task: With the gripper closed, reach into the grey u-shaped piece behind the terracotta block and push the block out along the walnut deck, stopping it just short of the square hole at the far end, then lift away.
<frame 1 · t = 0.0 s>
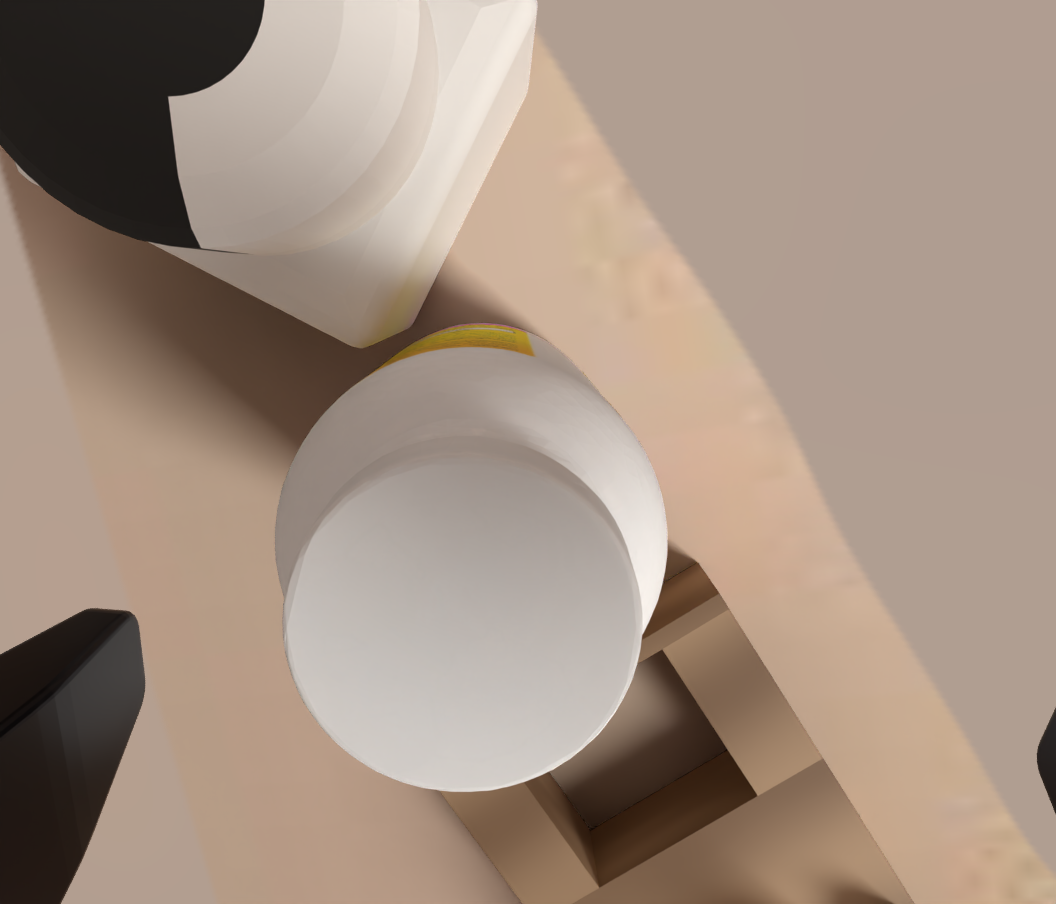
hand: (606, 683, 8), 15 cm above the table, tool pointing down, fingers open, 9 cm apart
supplement bottle: (484, 443, 24), on the table
medicine bottle: (346, 146, 22), on the table
deck: (728, 887, 26), on the table
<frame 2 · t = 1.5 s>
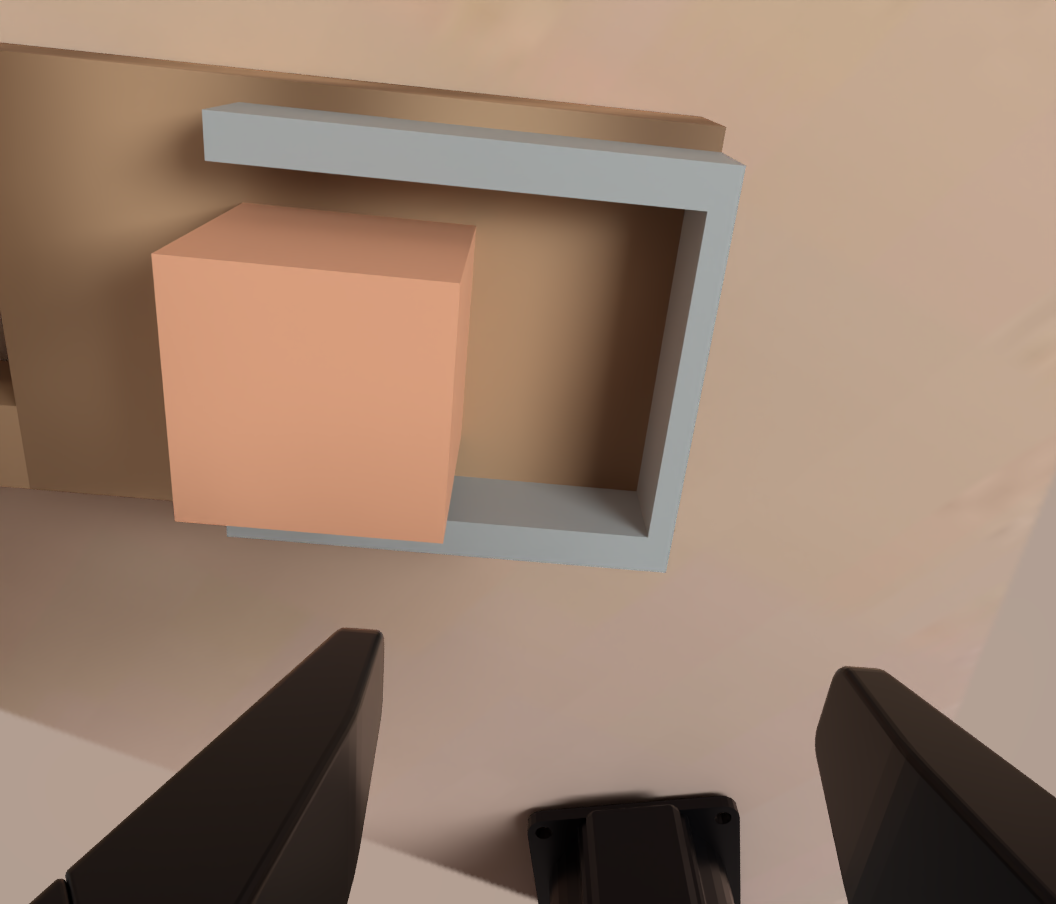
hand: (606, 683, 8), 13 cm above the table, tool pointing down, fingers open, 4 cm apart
block: (358, 325, 18), point 2 cm above the table, touching deck
grey u-shaped piece: (465, 351, 17), on the deck, point 4 cm above the table
deck: (235, 280, 20), on the table
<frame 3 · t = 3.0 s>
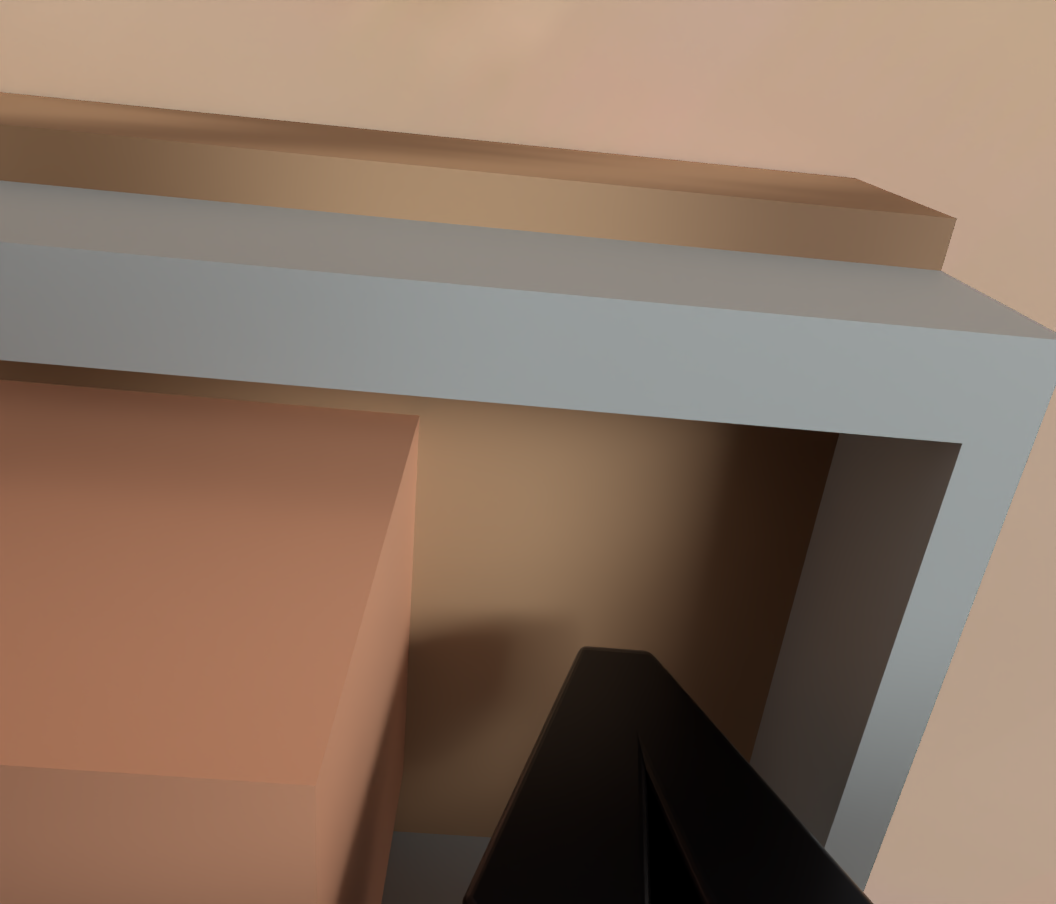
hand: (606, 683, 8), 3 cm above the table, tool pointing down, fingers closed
block: (194, 595, 9), point 2 cm above the table, touching deck, gripper
grey u-shaped piece: (397, 673, 8), on the deck, point 4 cm above the table
deck: (5, 463, 11), on the table
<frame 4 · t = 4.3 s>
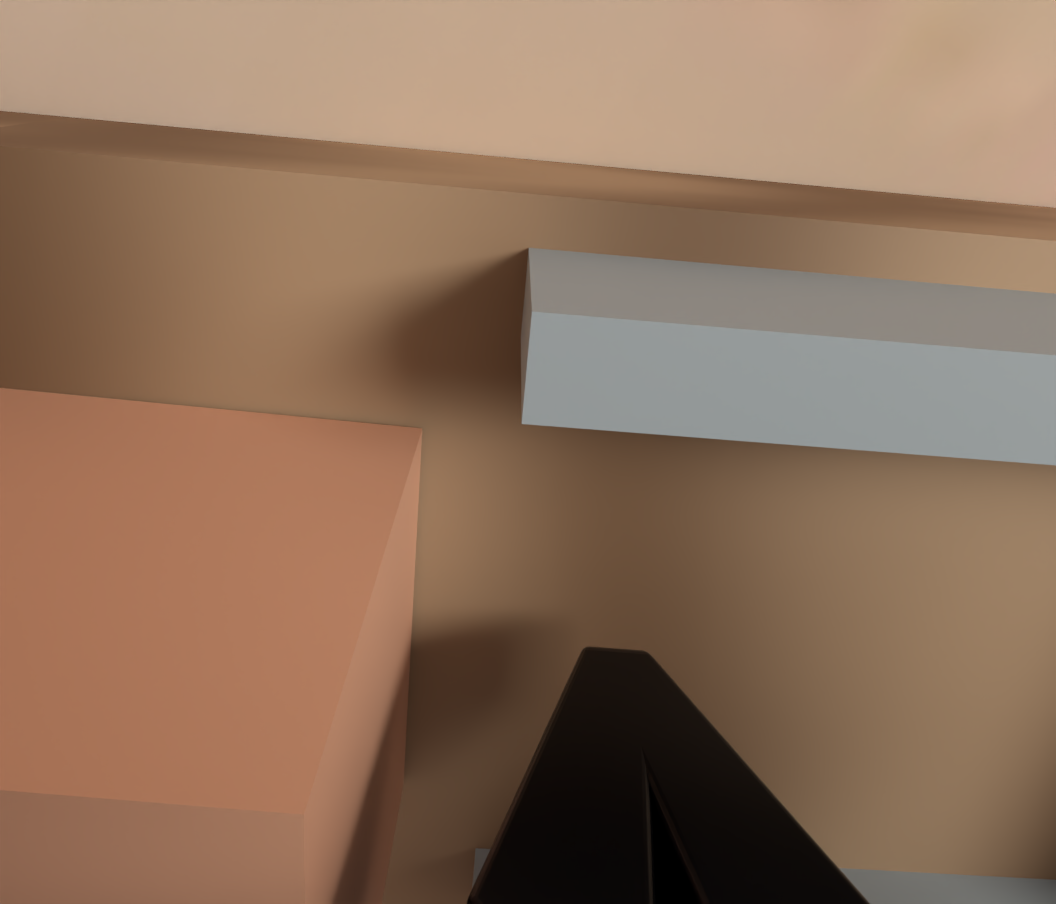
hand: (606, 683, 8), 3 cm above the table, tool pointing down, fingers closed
block: (194, 606, 9), point 3 cm above the table, touching deck, gripper
grey u-shaped piece: (950, 723, 8), on the deck, point 4 cm above the table
deck: (423, 509, 11), on the table
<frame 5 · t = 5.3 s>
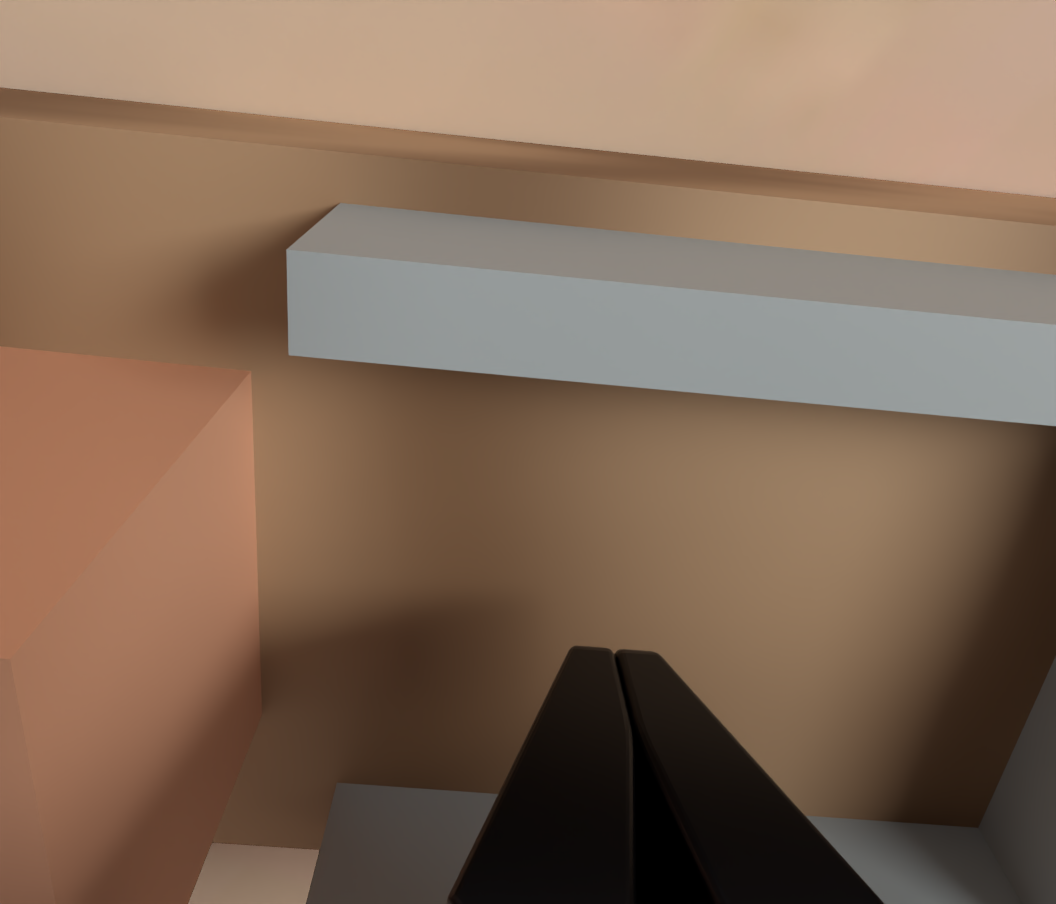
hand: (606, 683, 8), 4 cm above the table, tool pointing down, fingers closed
block: (51, 541, 10), point 2 cm above the table, touching deck
grey u-shaped piece: (752, 658, 9), on the deck, point 3 cm above the table
deck: (300, 464, 12), on the table
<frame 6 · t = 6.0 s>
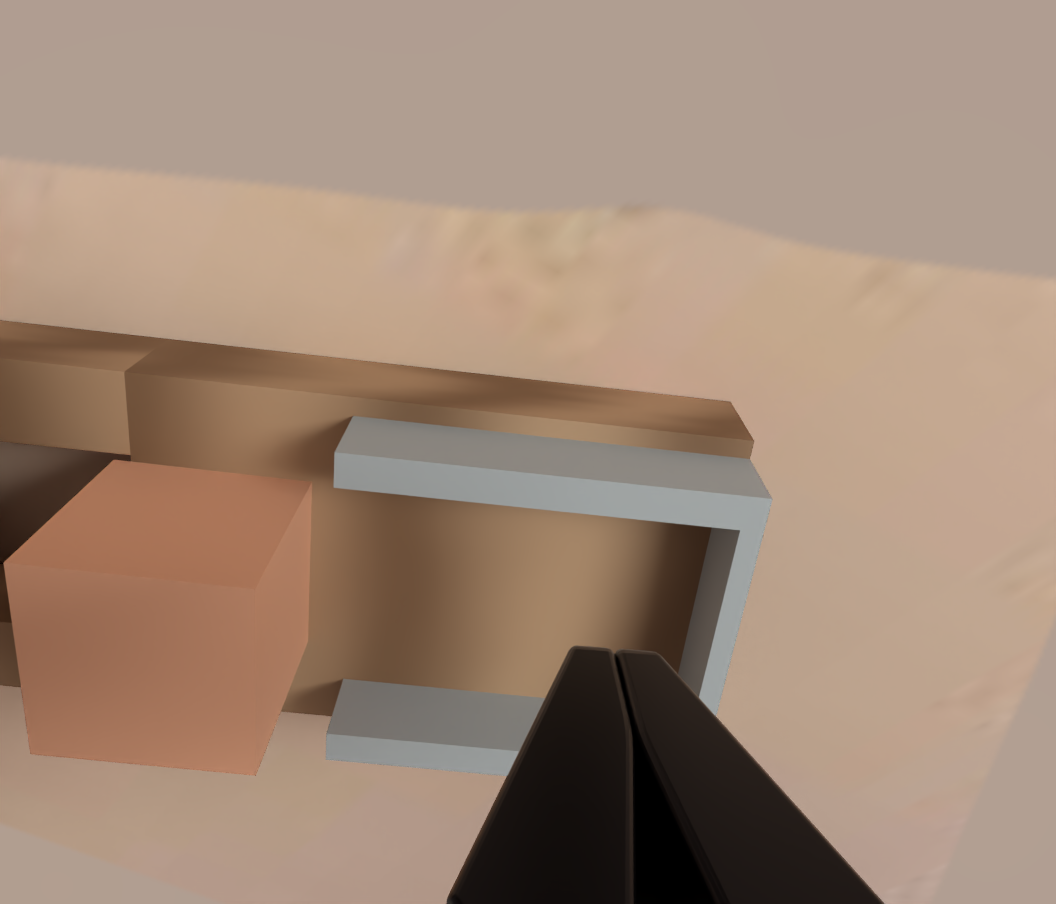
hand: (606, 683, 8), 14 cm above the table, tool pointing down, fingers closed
block: (215, 555, 21), point 2 cm above the table, touching deck
grey u-shaped piece: (532, 613, 20), on the deck, point 4 cm above the table
deck: (328, 517, 23), on the table
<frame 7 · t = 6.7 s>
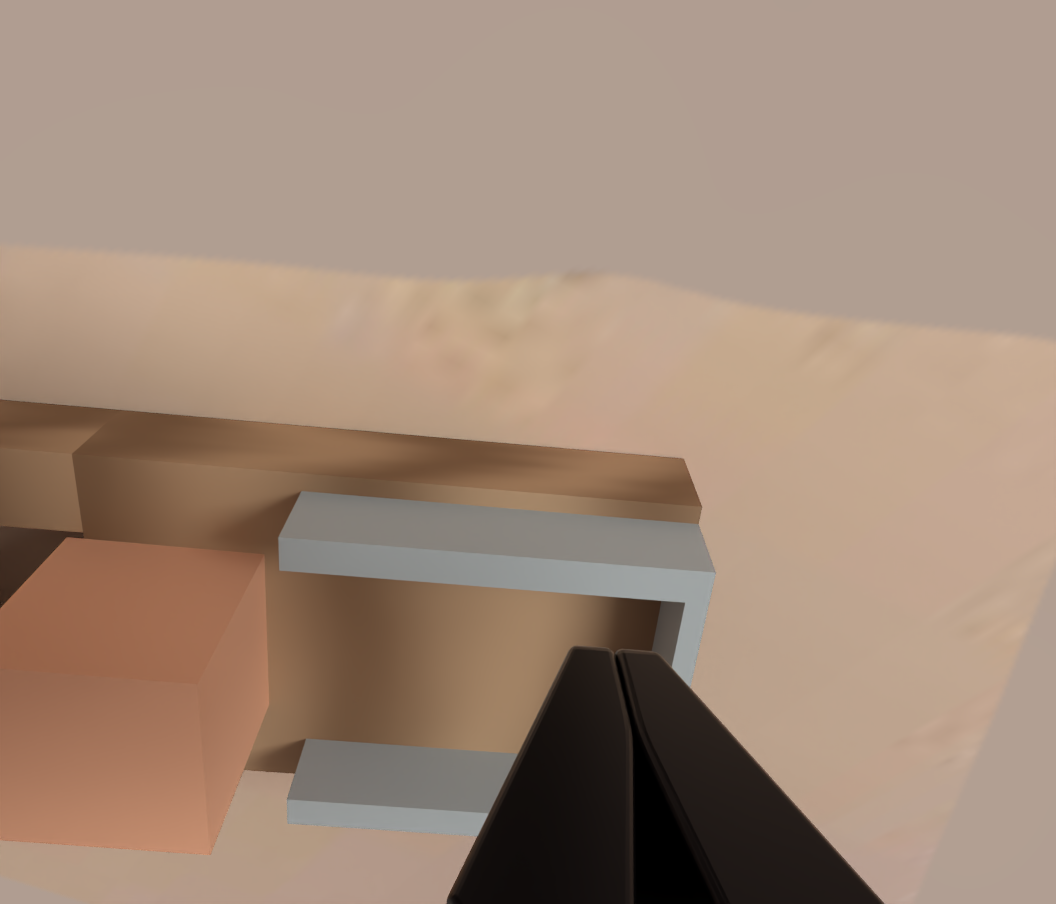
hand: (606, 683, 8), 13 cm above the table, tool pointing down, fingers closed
block: (173, 625, 21), point 2 cm above the table, touching deck
grey u-shaped piece: (486, 678, 20), on the deck, point 4 cm above the table
deck: (288, 577, 23), on the table
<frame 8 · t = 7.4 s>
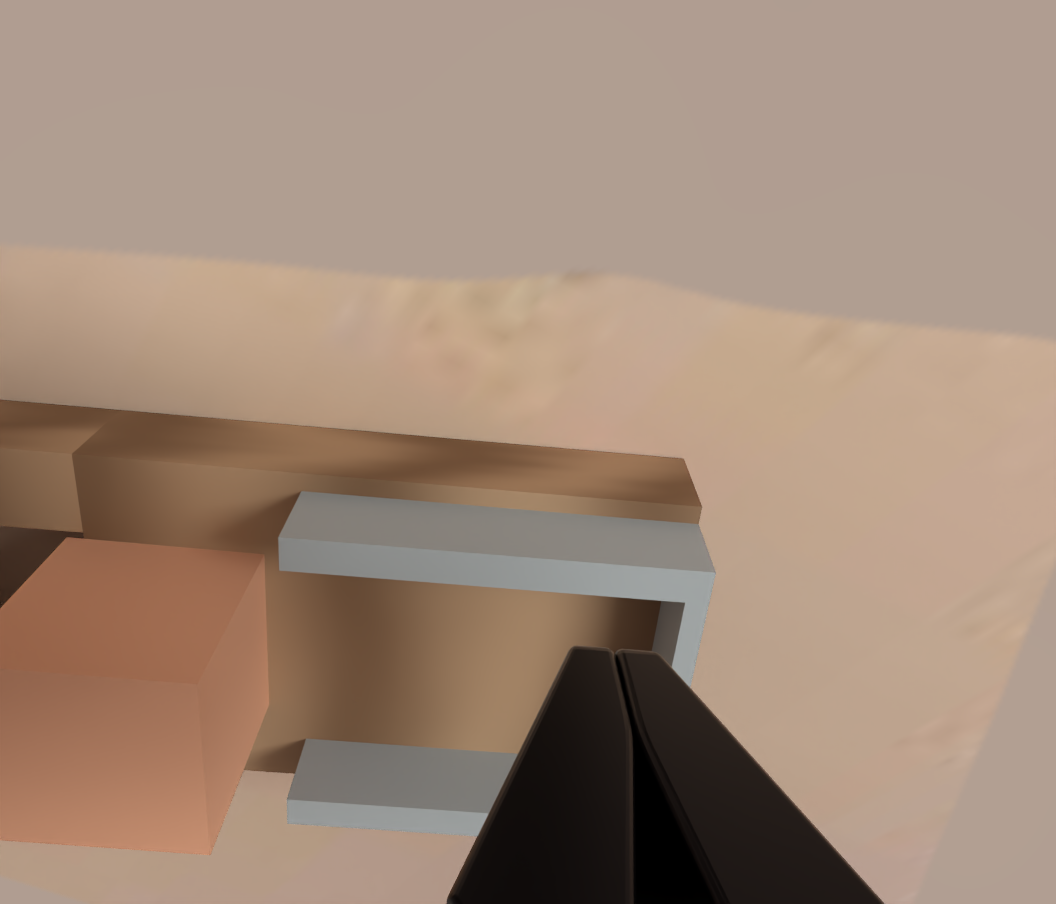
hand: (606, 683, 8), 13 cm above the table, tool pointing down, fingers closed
block: (173, 625, 21), point 2 cm above the table, touching deck
grey u-shaped piece: (486, 678, 20), on the deck, point 4 cm above the table
deck: (288, 577, 23), on the table
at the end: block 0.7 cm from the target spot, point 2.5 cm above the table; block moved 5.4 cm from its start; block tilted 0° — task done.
